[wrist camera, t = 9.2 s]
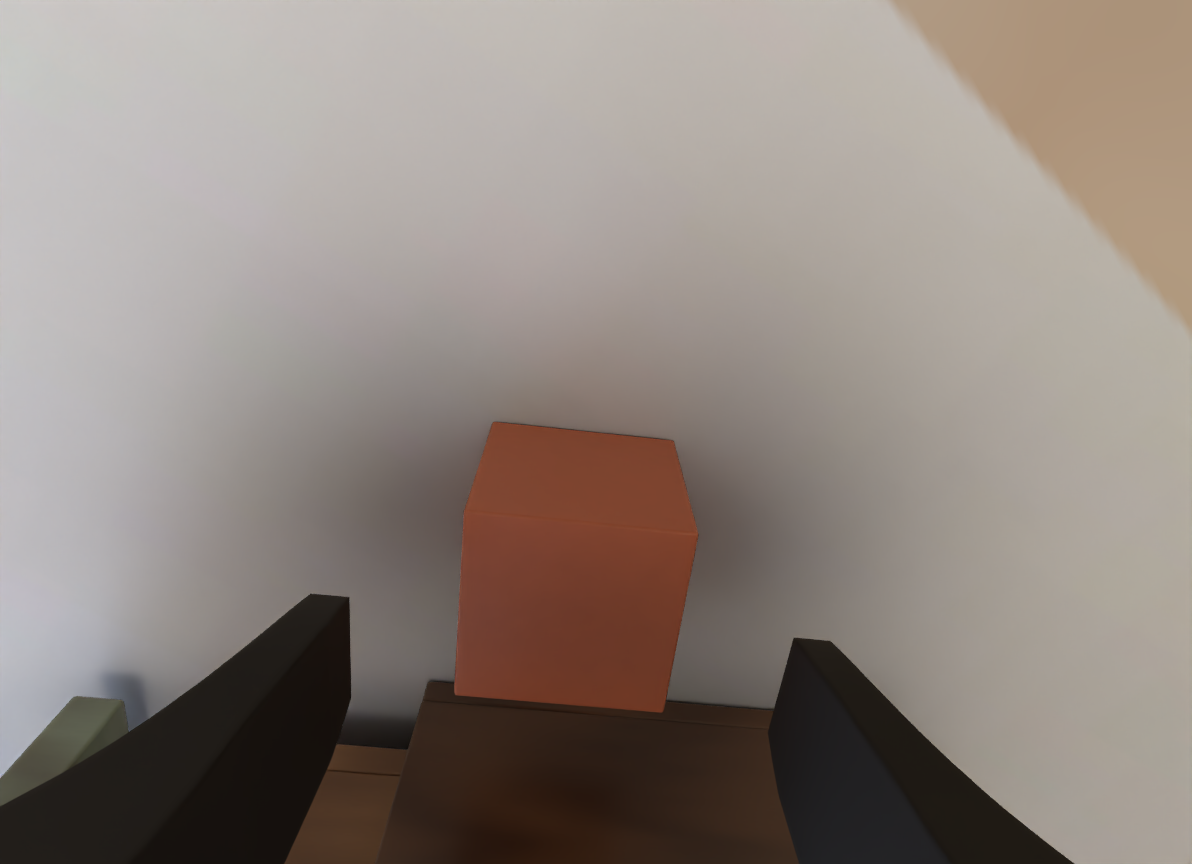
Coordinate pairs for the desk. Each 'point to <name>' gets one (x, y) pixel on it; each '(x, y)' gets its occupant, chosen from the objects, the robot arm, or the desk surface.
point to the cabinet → (585, 785)
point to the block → (573, 569)
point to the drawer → (330, 829)
